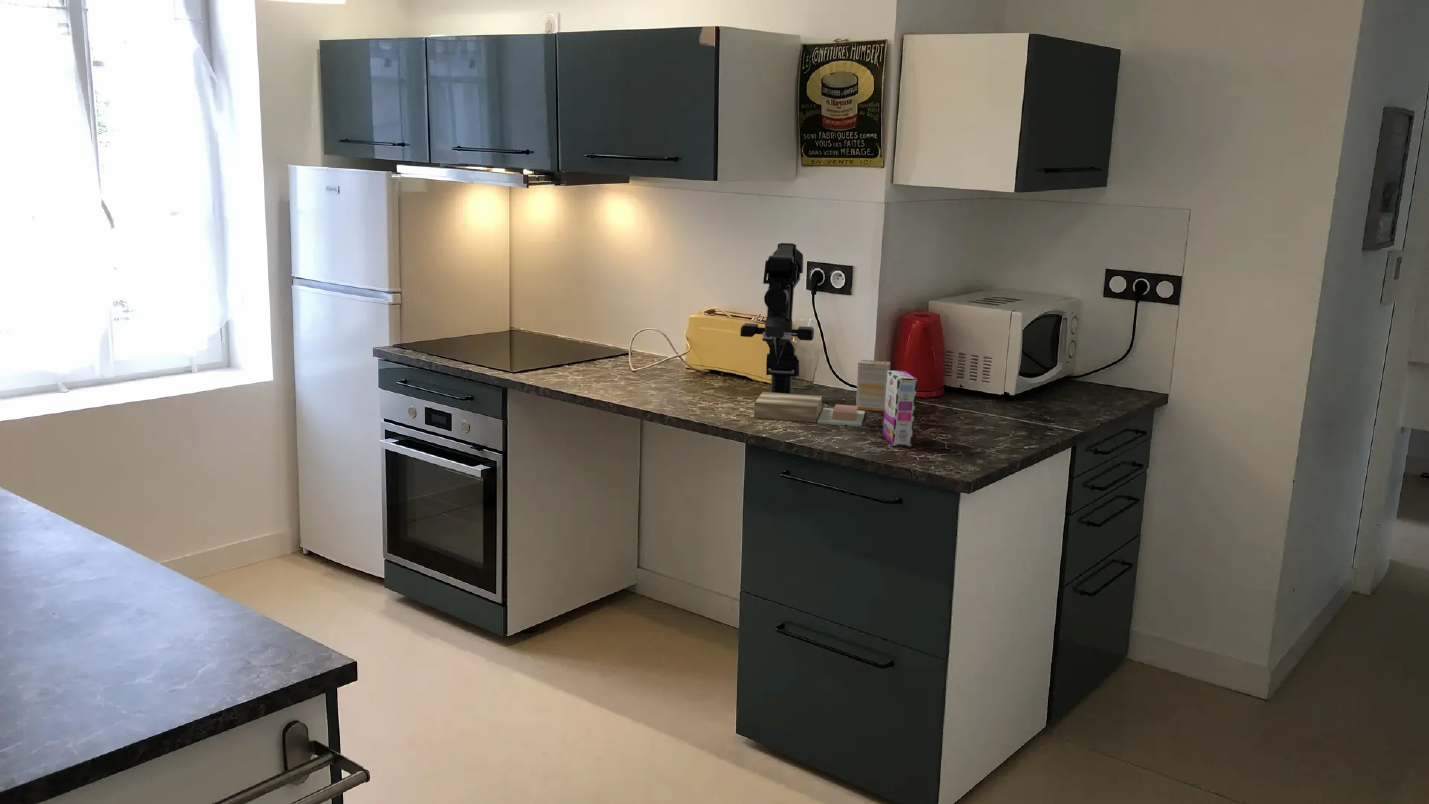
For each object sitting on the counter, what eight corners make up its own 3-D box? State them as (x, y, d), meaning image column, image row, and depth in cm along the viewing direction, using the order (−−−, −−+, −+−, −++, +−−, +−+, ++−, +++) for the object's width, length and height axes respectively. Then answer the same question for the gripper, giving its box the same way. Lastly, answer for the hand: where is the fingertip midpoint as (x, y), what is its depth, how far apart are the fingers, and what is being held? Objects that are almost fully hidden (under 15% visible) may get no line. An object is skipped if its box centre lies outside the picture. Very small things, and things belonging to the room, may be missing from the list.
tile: (858, 406, 293) (857, 413, 293) (835, 404, 294) (835, 411, 294) (856, 413, 284) (855, 420, 284) (832, 411, 285) (832, 419, 286)
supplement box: (888, 409, 303) (891, 361, 300) (885, 412, 298) (888, 364, 296) (858, 405, 305) (861, 358, 303) (854, 409, 301) (857, 361, 298)
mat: (823, 410, 298) (823, 408, 298) (864, 413, 296) (864, 411, 296) (817, 423, 283) (817, 421, 283) (860, 426, 281) (861, 424, 281)
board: (762, 406, 300) (762, 391, 300) (821, 410, 297) (822, 396, 297) (754, 417, 287) (754, 402, 286) (815, 422, 284) (816, 407, 283)
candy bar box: (913, 447, 263) (918, 378, 259) (892, 446, 262) (897, 378, 259) (901, 435, 273) (906, 369, 270) (881, 435, 273) (886, 369, 270)
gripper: (738, 307, 282) (736, 367, 285) (811, 311, 279) (808, 372, 282) (744, 301, 292) (742, 360, 296) (815, 305, 289) (812, 364, 293)
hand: (775, 364), depth 291 cm, fingers closed
